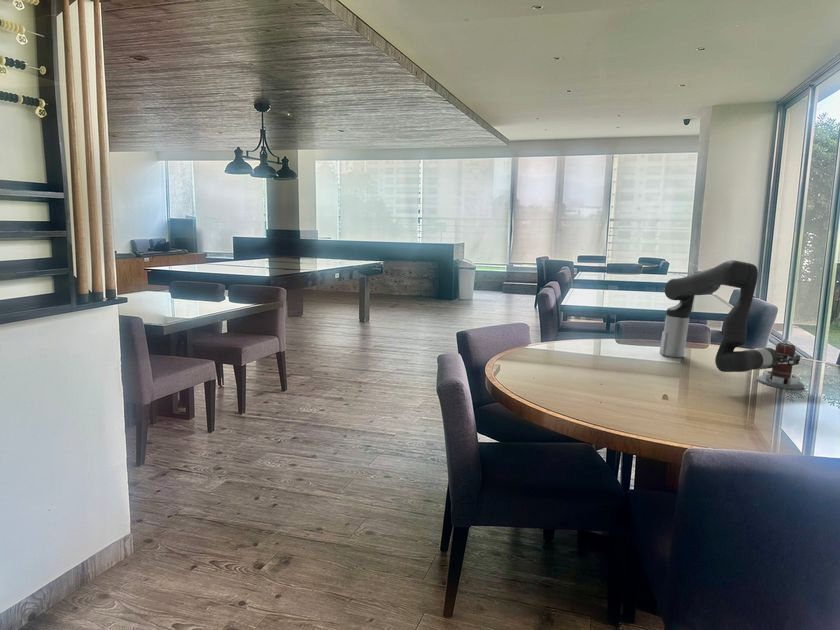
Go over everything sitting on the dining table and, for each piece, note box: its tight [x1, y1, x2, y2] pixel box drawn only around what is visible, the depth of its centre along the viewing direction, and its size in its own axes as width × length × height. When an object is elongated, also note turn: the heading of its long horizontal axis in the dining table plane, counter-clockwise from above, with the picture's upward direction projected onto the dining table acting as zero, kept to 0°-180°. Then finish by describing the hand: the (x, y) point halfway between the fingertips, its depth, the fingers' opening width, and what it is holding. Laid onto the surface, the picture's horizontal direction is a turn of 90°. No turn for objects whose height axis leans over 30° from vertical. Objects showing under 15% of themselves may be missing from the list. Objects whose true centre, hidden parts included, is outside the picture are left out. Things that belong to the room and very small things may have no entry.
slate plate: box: [756, 374, 805, 391], centre depth 213 cm, size 15×15×1 cm
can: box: [770, 342, 797, 384], centre depth 211 cm, size 6×6×14 cm
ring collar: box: [762, 369, 801, 386], centre depth 213 cm, size 11×11×2 cm
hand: (788, 355), depth 212 cm, fingers open, 7 cm apart
